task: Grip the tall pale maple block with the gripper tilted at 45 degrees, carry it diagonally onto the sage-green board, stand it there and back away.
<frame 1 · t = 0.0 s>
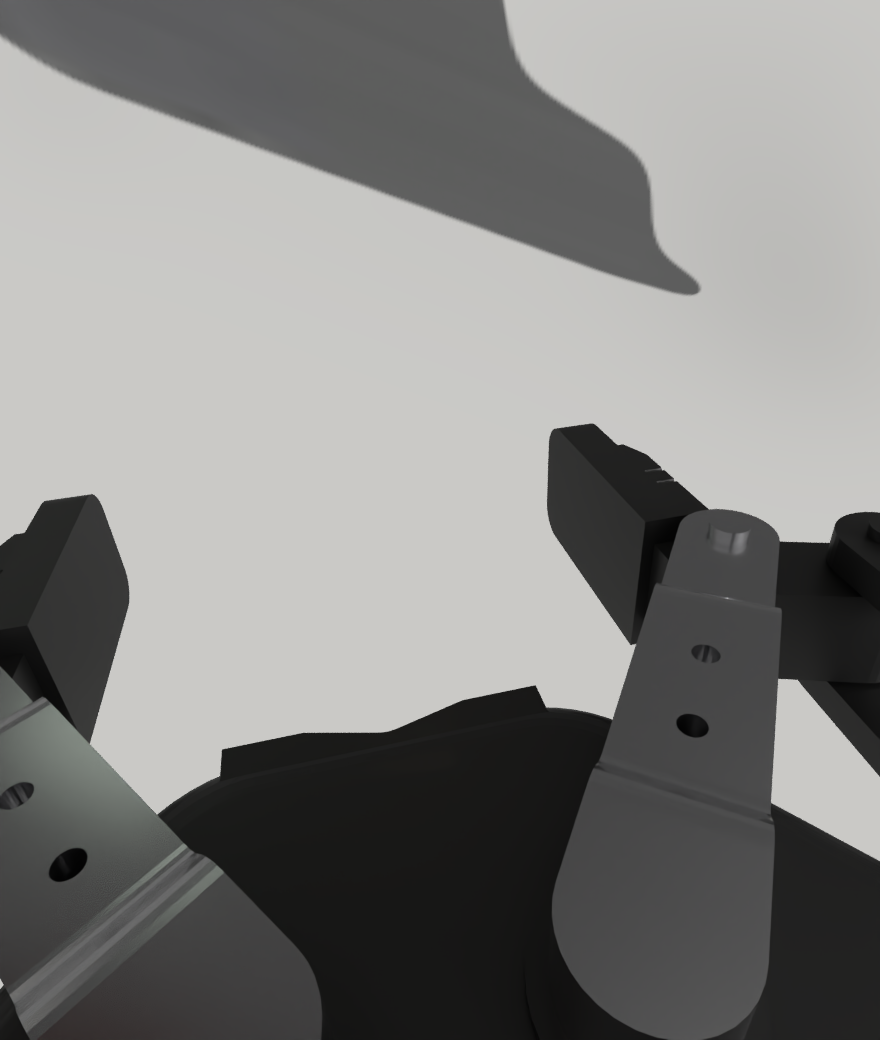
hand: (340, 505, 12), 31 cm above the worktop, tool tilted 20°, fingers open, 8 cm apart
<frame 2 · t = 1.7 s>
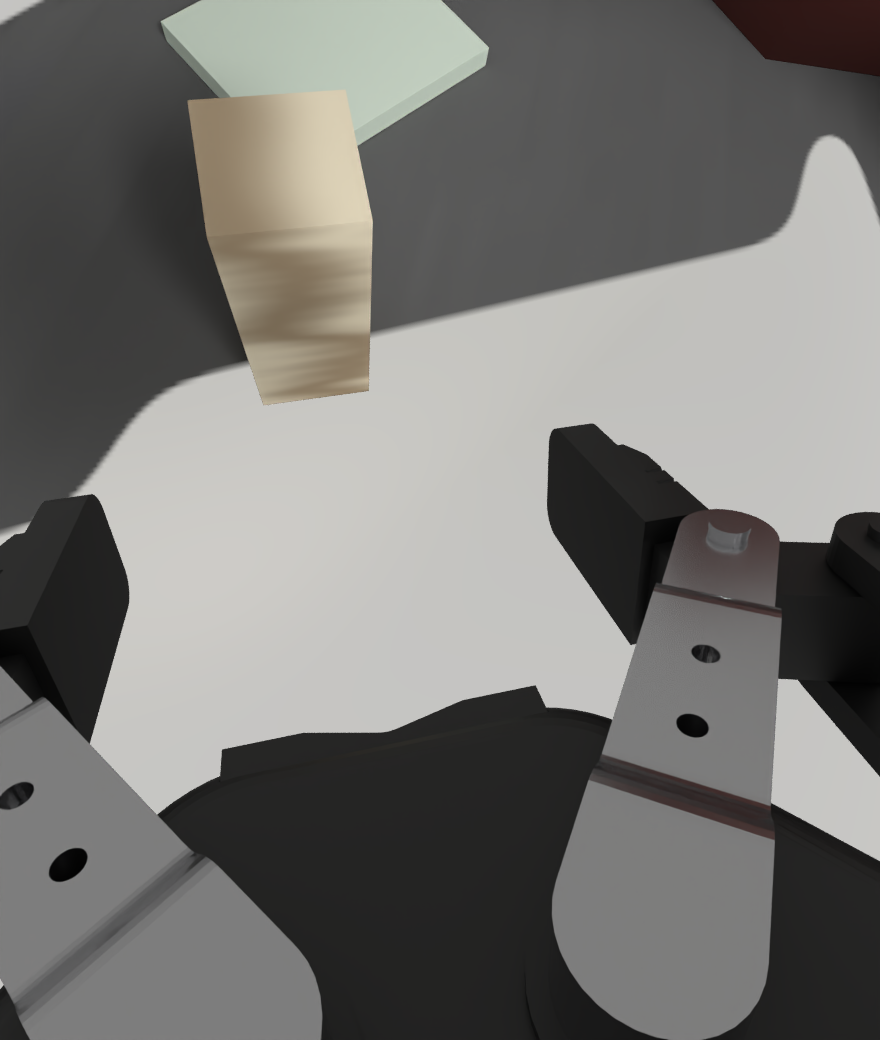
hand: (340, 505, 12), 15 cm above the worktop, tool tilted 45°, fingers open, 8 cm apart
sage board: (330, 53, 34), on the worktop
maple block: (308, 350, 30), on the worktop
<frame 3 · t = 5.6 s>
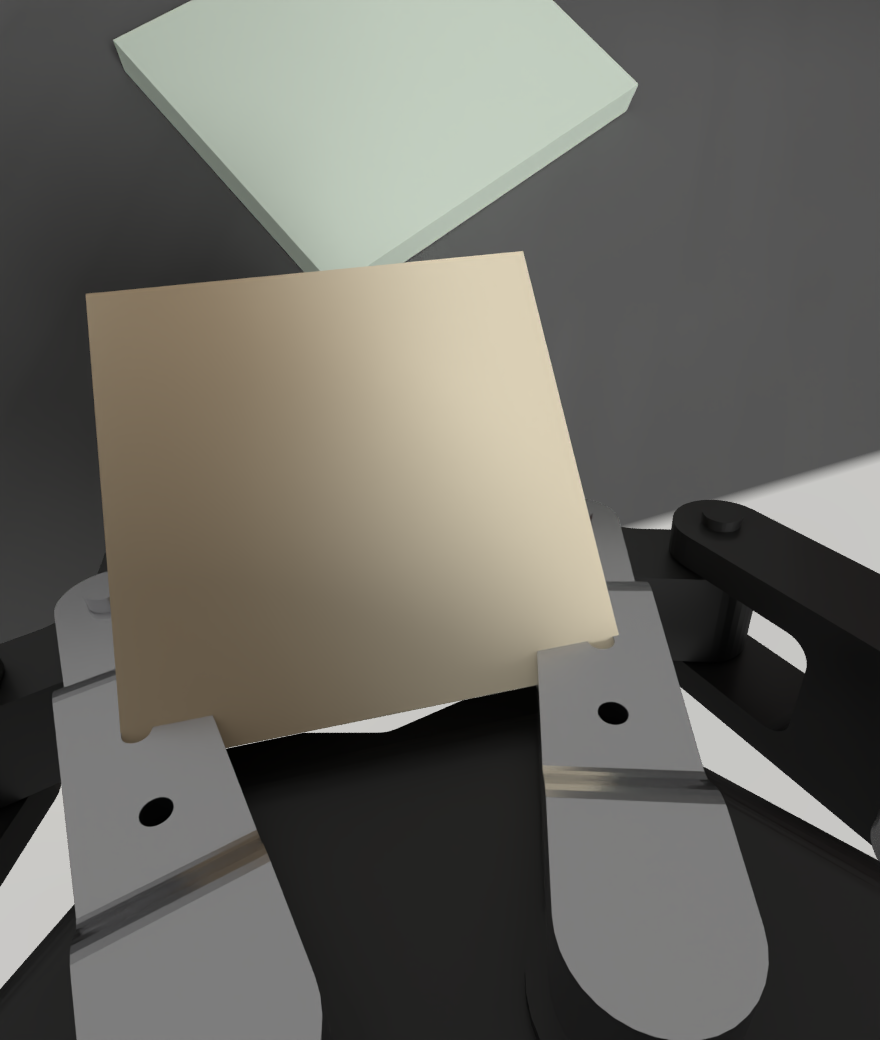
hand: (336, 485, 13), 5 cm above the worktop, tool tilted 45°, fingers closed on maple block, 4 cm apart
sage board: (386, 91, 21), on the worktop
maple block: (355, 613, 17), on the worktop, touching gripper
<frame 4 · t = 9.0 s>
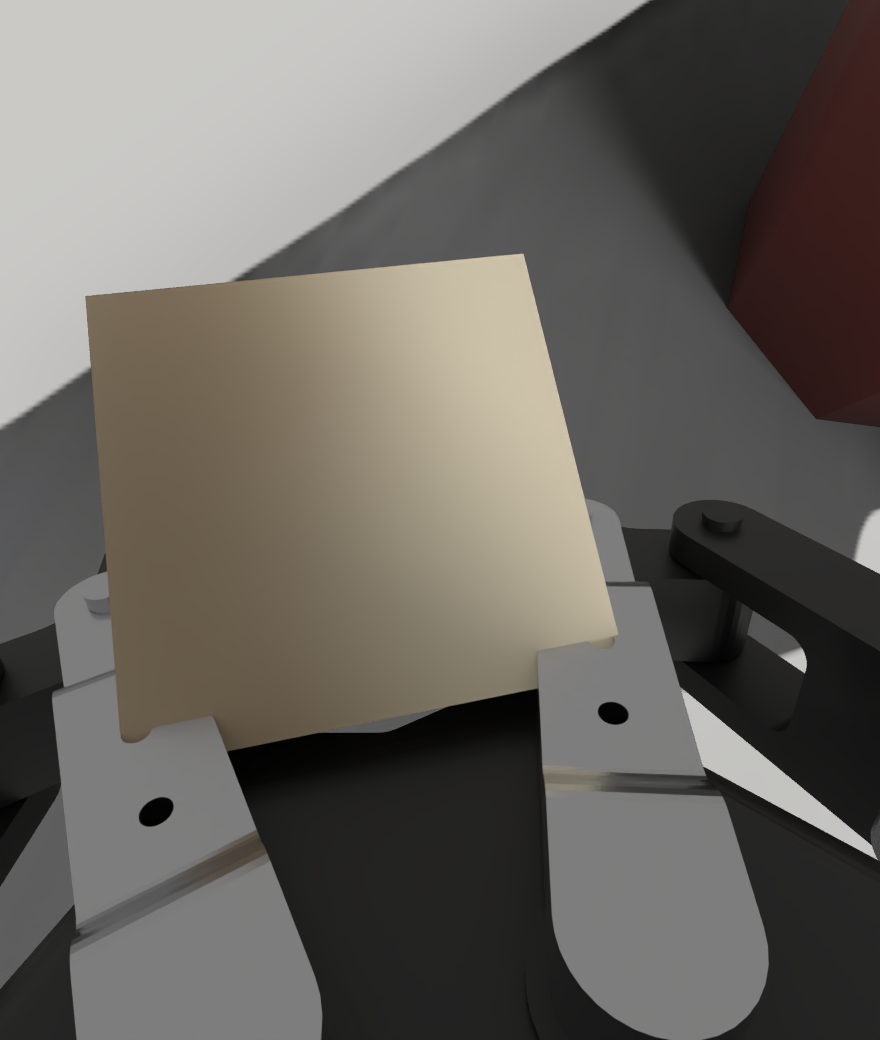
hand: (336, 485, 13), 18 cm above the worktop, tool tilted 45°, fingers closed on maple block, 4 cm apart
bucket: (855, 296, 38), on the worktop
maple block: (355, 614, 17), point 13 cm above the worktop, touching gripper
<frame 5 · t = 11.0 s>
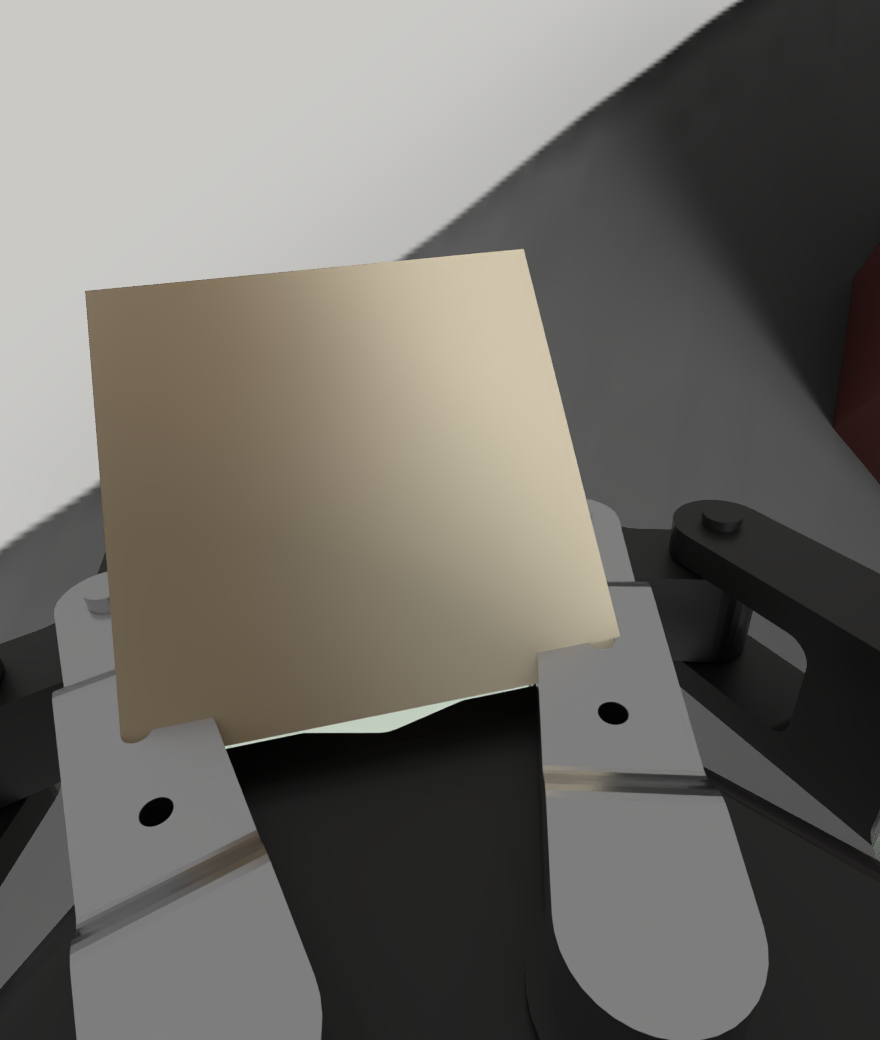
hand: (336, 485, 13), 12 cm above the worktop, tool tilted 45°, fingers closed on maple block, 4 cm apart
sage board: (362, 636, 24), on the worktop
maple block: (355, 612, 17), point 7 cm above the worktop, touching gripper
when the fingers open (7 cm above the worktop, at t = 12.6 s): maple block drops 1 cm, resting on sage board.
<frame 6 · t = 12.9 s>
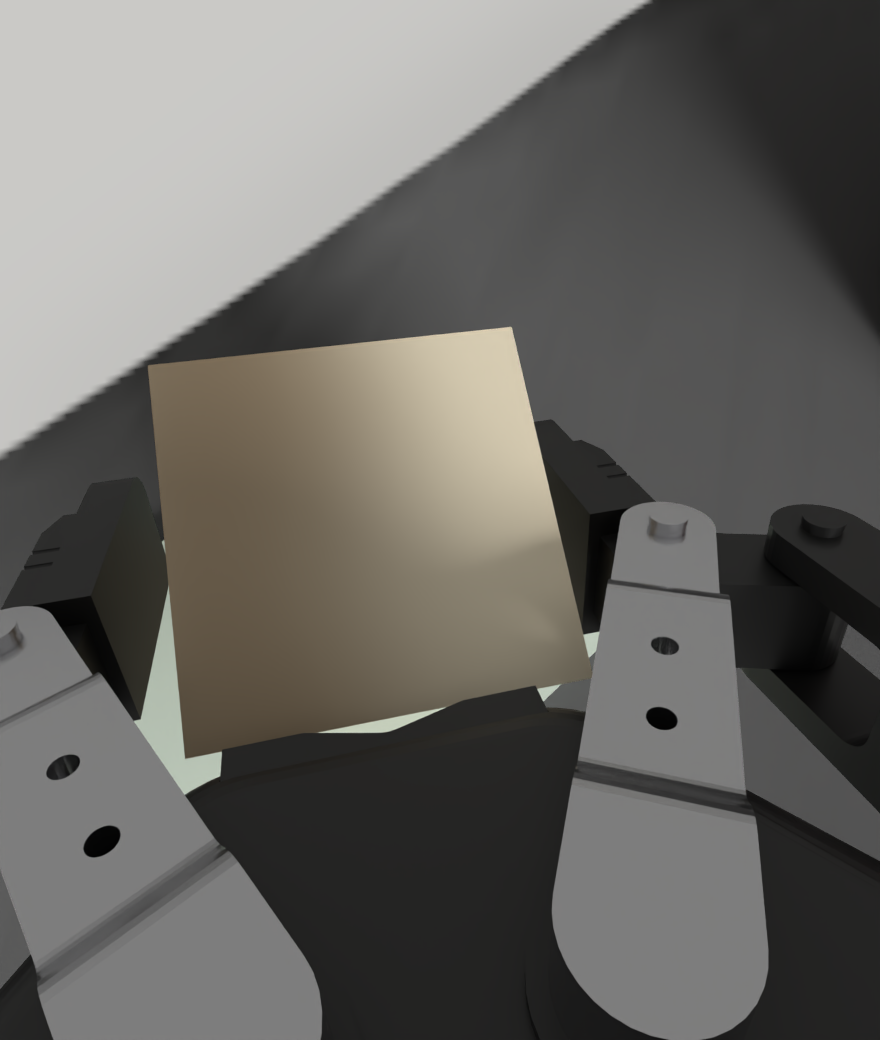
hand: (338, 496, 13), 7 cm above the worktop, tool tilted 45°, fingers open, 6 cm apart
sage board: (355, 624, 19), on the worktop
maple block: (357, 622, 18), point 1 cm above the worktop, touching sage board
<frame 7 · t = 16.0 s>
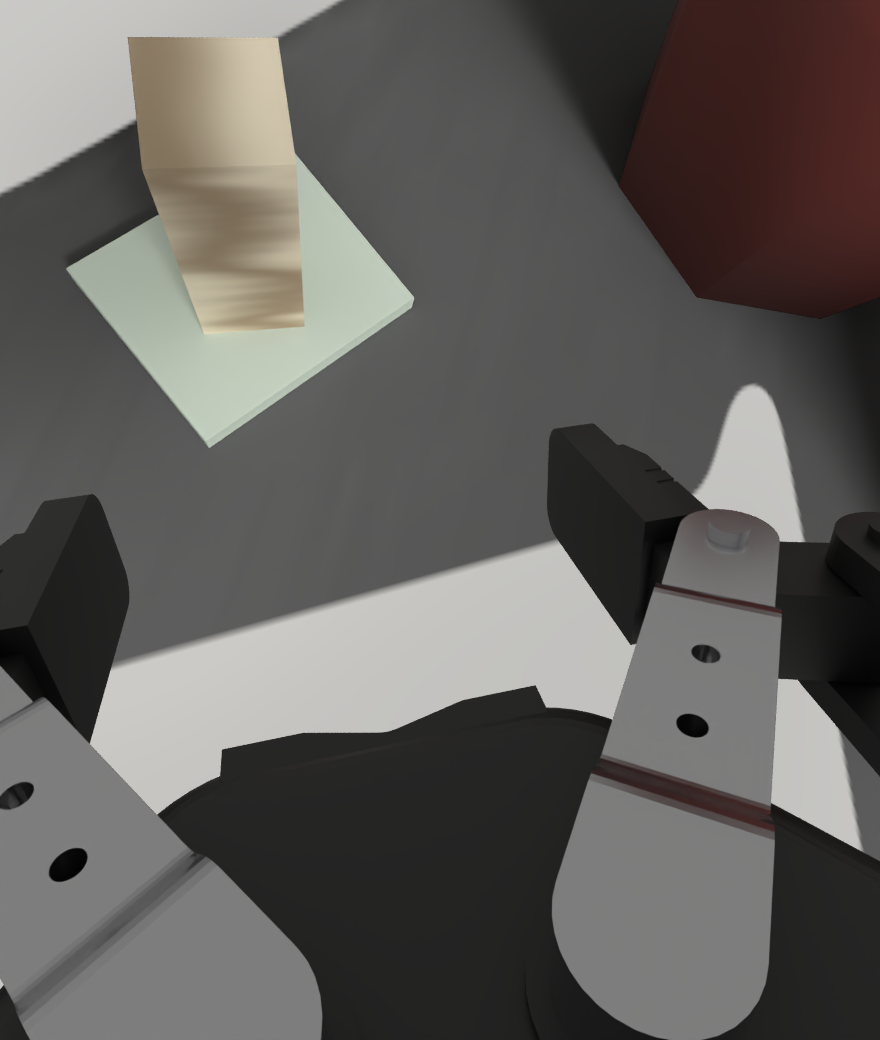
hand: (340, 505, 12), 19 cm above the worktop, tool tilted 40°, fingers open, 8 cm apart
sage board: (249, 294, 33), on the worktop
bucket: (746, 181, 39), on the worktop
maple block: (249, 285, 32), point 1 cm above the worktop, touching sage board
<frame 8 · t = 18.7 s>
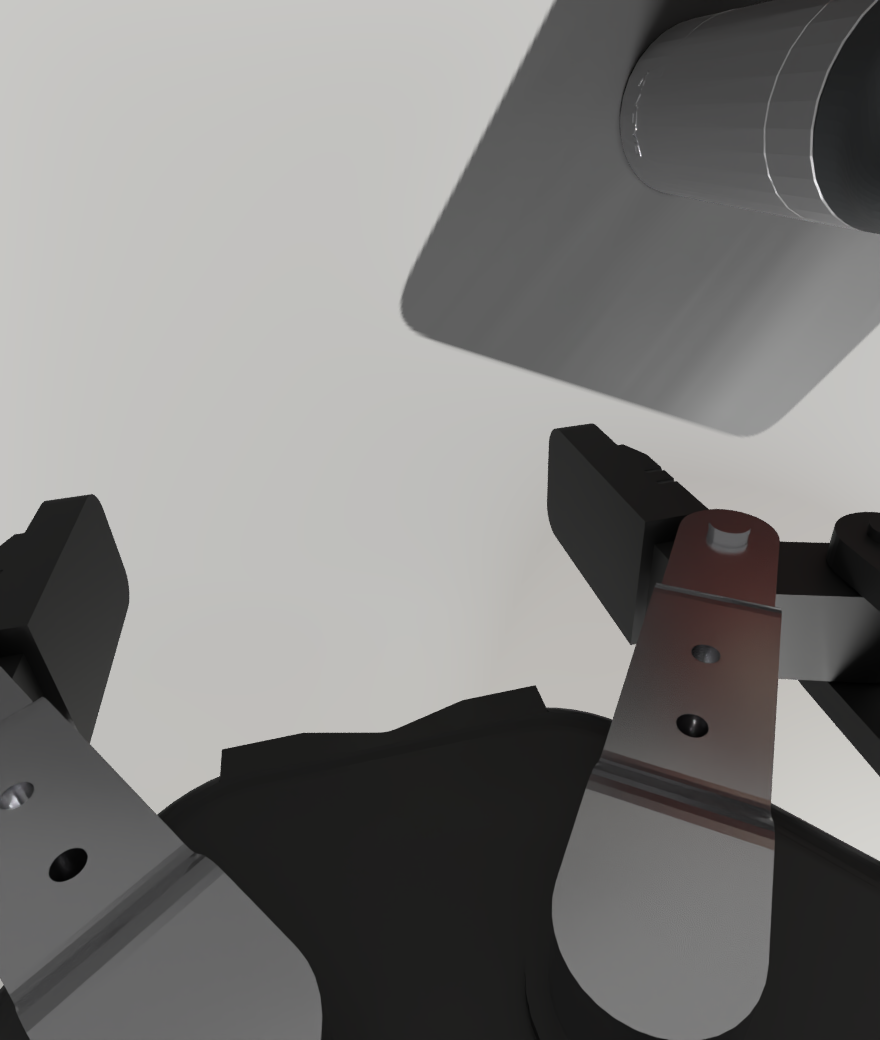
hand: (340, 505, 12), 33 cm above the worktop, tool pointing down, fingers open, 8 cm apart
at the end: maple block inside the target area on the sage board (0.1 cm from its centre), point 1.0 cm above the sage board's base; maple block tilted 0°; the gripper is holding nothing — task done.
